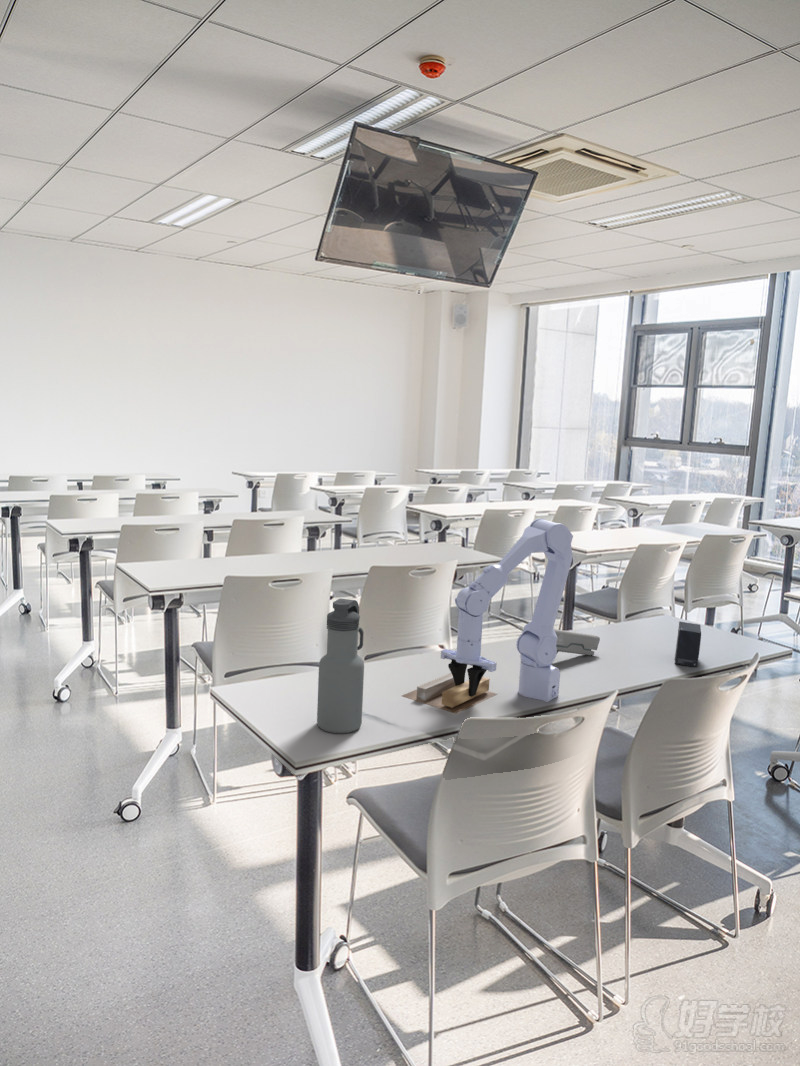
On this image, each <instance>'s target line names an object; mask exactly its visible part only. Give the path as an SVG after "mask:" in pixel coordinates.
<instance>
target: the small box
mask: <svg viewBox="0 0 800 1066" xmlns="http://www.w3.org/2000/svg"><path fill="white" fill-rule="evenodd" d="M701 639H702V631H701V624H698V623H691V622H685V621H679V622H678V629H677V637H676V645H675V653H674V664H675V663H676V664H675V665H679V664H680V665H681V666H686V665H687V667H694V668H697V667H698V663H699V659H700V657H699V656H700V650H701V641H702V640H701Z"/></svg>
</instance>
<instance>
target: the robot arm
mask: <svg viewBox="0 0 800 1066" xmlns="http://www.w3.org/2000/svg"><path fill="white" fill-rule="evenodd" d="M573 538H574V535H573V534H572V532H571V531H570V529H569V528H568V526H566V525H565V524H563V523H557V522H556V521H555V522H554V521H550V520H547V519H545V518H536V519H533V521H532V522H531V523H530V524H529V525H528V526H527V527H525V528H524V530H523V533H522V535H521V537H520V538H519V539H518V540H517V541H516V542H515V544H514V545H513V546H512V547H511V548H509V550H508V552H507V553H506V554H505V555H504V556H503V557H502V559H501V560H500V561H499V562H498V563H496V564H490V565H489V566H484V568H482V571H483V572H481V574H480V575H478V577H477V578H476V579H474V581H473V582H472V581H471V582H470V583H469V585H468V586H466V587H463V588H461V590H460V591H458V593H457V595H456V597H455V598H454V603H455V605H456V607H457V609H458V621H457V635H456V636H457V637H456V638H457V639H456V640H457V641H456V650H453V649H448V648H445V649H442V650H440V659H443V660H445V659H446V660H449V661H450V663H448V665H447V666H448V669H449V671H450V673H452V675H453V678H454V682H455V686H457V685H459V684H462V683H464V682H466V681H465V678H466V672H467V676H468V681H469V696H471V697H472V696H474V695H476V692H477V689H478V686H479V683H480V681H481V679H482V677H484V675H485V673H486V672H487V671H488V672H491V673H494V672H495V671H497V662H496V661H494V660H491V659H488V658H486V657H484V656H482V655H481V651H482V636H483V621H484V620H483V619H484V613H485V612H487V611H488V609H489V606H490V601H492V599H493V597H494V596H496V594H497V593H498V592H499V591H501V589H502V588H503V587H504V586H505V585H506V584H507V583H508V582H509V581H508V580H509V574H510V573H511V572H512V571H513V570H514V569H516V568H517V567H518V566H519V565H520V564H521V563H523V562H524V560H526V559H527V558H528V557H529V556H530V555H531V554H533V553H539V552H540V553H541V552H543V554H544V555H545V557H546V558H547V560H548V561H547V564H546V568H545V571H544V574H543V579H542V581H541V586H540V590H539V592H538V595H537V600H536V604H535V607H534V612H533V614H532V618H531V621H530V622H529V621H528V623H526V624H525V625H524V627H523V631H522V632H521V634H520V635H519V636H518V638H517V639H516V650H517V652H518V653H519V655H520V656H519V657H520V663H519V665H520V666H519V677H518V678H519V679H518V694H519V695H521V697H522V696H523V697H526V698H529V699H536V700H538V701H542V702H546V703H548V702H550V701H552V700H553V699H556V698H557V697H559V692H560V691H559V690H560V681H561V680H560V679H561V673H560V672H561V671H560V669H559V668H558V667H556V666H554V665H553V664H552V663H553V662H554V661H555V660H556V657H557V656H558V655H557V654H558V653H557V648H556V643H557V639H558V638H557V635H556V633H555V630H554V629H555V628H554V626H555V623H556V620H557V615H558V614H559V613H558V612H559V608H560V605H561V602H562V598H563V594H564V591H565V587H566V583H567V580H568V576H569V573H570V569H571V565H572V562H573V551H572V550H573V547H572V542H573ZM468 666H472V667H469V668H467V667H468Z"/></svg>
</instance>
